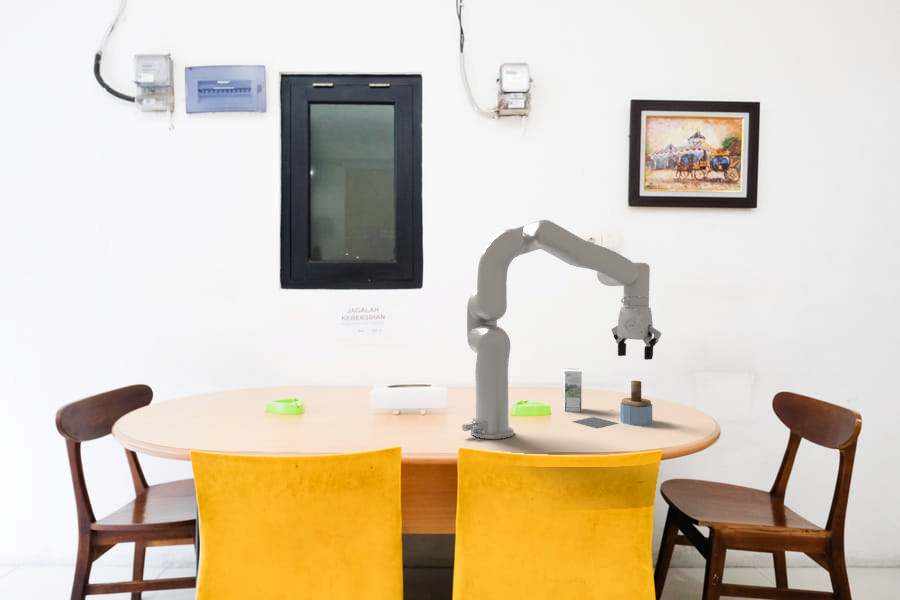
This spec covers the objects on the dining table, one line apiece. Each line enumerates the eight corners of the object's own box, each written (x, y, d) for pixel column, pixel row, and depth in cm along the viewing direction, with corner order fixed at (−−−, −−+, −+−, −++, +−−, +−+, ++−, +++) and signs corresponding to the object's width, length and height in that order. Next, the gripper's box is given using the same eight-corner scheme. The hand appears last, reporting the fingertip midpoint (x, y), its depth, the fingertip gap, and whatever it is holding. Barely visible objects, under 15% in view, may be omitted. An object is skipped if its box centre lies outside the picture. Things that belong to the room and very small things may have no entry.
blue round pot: (639, 428, 159) (639, 408, 159) (614, 422, 167) (614, 403, 166) (658, 423, 164) (658, 404, 164) (633, 417, 172) (633, 399, 172)
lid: (639, 408, 159) (639, 385, 159) (615, 403, 166) (615, 381, 166) (656, 404, 164) (656, 381, 164) (633, 399, 171) (633, 378, 171)
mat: (597, 429, 158) (597, 428, 158) (571, 422, 166) (571, 421, 166) (618, 424, 164) (618, 423, 164) (593, 418, 172) (593, 416, 172)
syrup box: (579, 409, 185) (579, 367, 184) (581, 413, 179) (581, 370, 179) (562, 408, 185) (562, 367, 185) (564, 412, 179) (564, 370, 179)
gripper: (605, 301, 170) (604, 355, 170) (653, 303, 155) (651, 361, 156) (620, 301, 174) (619, 353, 174) (668, 303, 159) (667, 360, 160)
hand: (634, 357), depth 165 cm, fingers open, 9 cm apart
